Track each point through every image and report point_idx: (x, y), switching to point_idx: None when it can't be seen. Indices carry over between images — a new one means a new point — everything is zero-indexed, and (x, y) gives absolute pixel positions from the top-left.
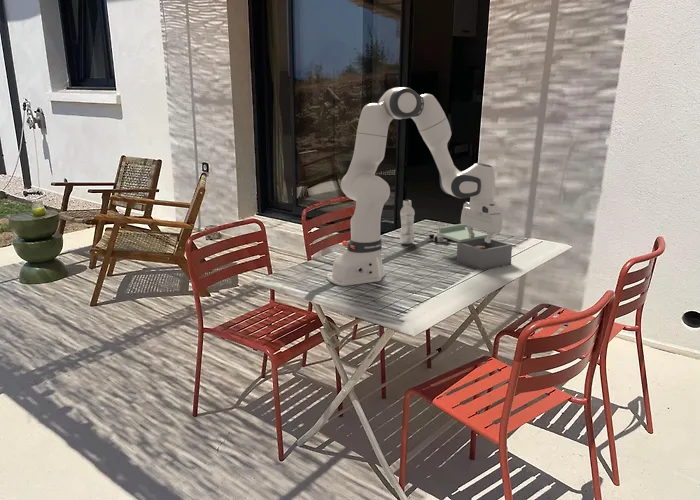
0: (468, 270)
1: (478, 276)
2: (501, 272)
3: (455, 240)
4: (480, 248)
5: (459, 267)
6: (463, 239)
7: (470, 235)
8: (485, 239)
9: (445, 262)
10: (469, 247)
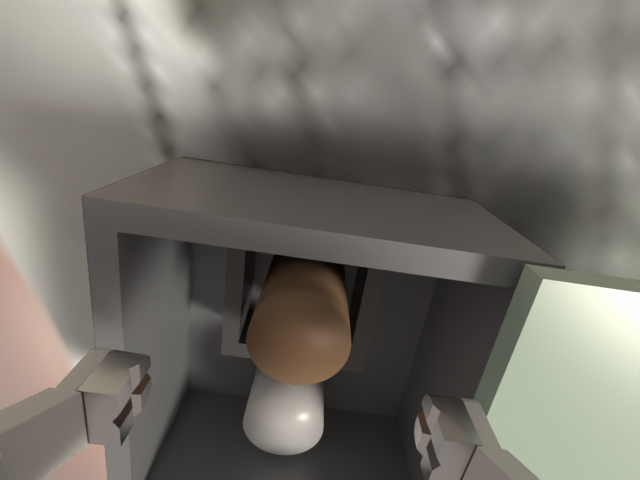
0: (251, 82)
1: (85, 17)
2: (79, 228)
3: (614, 278)
4: (259, 311)
5: (355, 89)
6: (518, 332)
7: (450, 416)
8: (109, 377)
9: (530, 107)
10: (331, 227)
